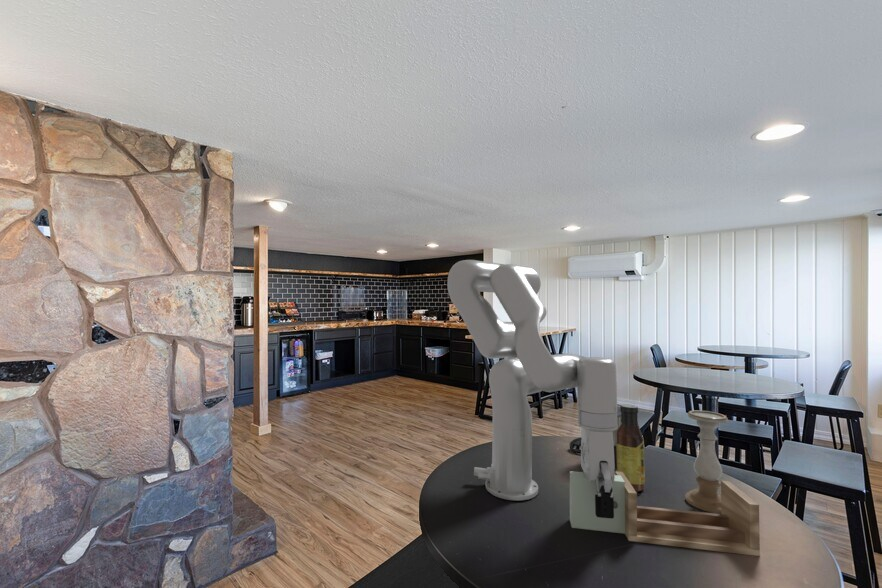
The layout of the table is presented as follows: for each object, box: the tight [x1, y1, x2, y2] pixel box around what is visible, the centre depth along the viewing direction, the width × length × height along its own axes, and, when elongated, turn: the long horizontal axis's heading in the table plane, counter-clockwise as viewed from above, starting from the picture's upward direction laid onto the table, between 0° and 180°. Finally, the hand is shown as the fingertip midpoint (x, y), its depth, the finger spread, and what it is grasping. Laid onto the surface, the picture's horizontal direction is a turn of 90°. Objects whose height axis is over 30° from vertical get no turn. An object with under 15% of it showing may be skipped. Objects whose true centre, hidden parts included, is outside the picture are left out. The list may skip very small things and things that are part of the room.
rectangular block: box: [569, 470, 626, 535], centre depth 79 cm, size 10×4×10 cm, turn 79°
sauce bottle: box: [616, 403, 646, 492], centre depth 98 cm, size 7×6×20 cm
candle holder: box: [685, 409, 729, 514], centre depth 89 cm, size 9×9×20 cm
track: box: [615, 470, 761, 557], centre depth 77 cm, size 22×10×9 cm, turn 79°
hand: (599, 504), depth 79 cm, fingers open, 9 cm apart
